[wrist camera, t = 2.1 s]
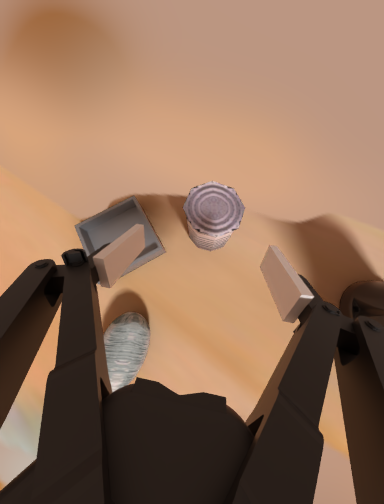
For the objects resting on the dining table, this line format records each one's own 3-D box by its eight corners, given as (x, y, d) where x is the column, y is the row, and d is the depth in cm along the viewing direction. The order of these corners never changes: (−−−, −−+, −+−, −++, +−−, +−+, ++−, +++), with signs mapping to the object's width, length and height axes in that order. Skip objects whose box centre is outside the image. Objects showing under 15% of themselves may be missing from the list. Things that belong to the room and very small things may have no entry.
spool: (115, 300, 33) (104, 329, 23) (156, 308, 36) (161, 337, 27) (93, 356, 33) (74, 406, 24) (136, 359, 37) (134, 405, 27)
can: (194, 207, 41) (193, 174, 30) (235, 216, 40) (250, 187, 28) (182, 245, 39) (176, 226, 27) (225, 256, 38) (238, 242, 26)
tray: (166, 252, 38) (162, 248, 35) (107, 284, 37) (97, 284, 33) (139, 202, 42) (134, 195, 39) (84, 230, 41) (74, 225, 37)
